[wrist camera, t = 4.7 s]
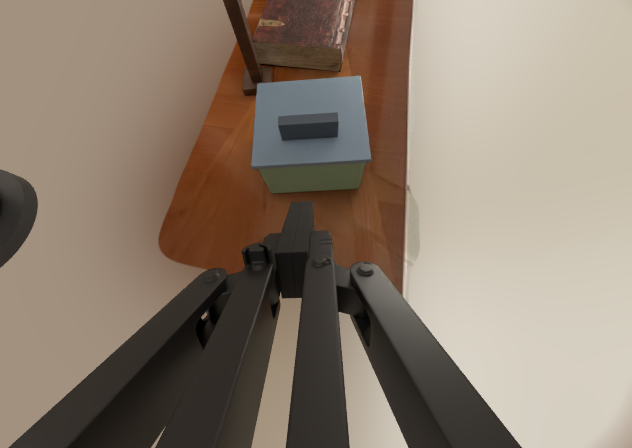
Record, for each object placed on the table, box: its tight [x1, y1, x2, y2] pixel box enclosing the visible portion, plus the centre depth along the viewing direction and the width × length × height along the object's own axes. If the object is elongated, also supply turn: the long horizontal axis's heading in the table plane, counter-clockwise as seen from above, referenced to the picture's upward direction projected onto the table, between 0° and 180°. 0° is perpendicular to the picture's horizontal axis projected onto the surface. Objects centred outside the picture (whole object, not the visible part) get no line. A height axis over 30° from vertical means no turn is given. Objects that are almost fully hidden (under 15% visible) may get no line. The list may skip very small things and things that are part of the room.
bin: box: [259, 163, 365, 193], centre depth 38 cm, size 16×15×9 cm
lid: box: [251, 76, 371, 169], centre depth 33 cm, size 17×16×4 cm
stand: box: [223, 0, 273, 96], centre depth 40 cm, size 6×6×20 cm
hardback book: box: [253, 0, 355, 72], centre depth 52 cm, size 29×19×5 cm, turn 169°
